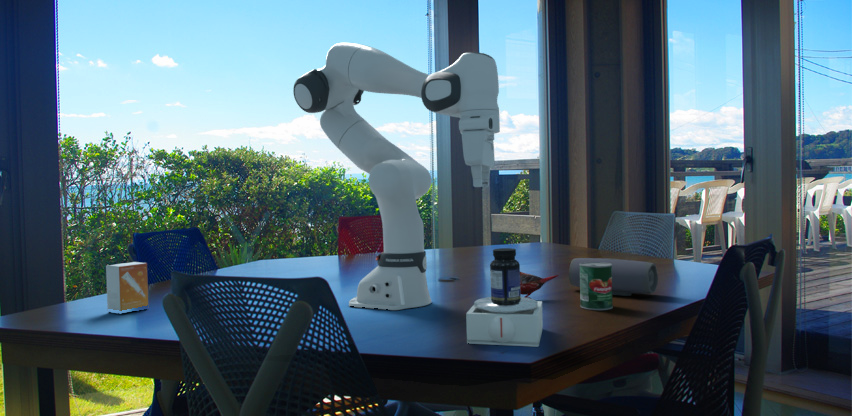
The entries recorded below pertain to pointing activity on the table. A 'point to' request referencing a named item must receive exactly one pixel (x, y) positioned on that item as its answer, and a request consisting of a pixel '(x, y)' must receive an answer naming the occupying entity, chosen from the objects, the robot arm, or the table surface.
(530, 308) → the scale pan
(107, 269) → the small box
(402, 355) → the table surface
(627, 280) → the bluetooth speaker
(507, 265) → the pill bottle
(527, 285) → the decorative bird figurine
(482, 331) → the scale housing
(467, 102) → the robot arm
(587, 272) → the canned tomato
